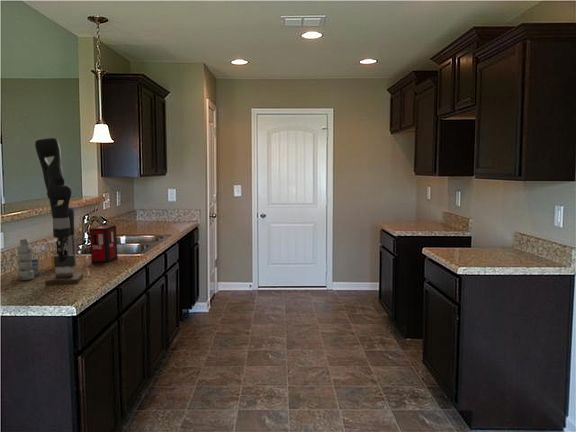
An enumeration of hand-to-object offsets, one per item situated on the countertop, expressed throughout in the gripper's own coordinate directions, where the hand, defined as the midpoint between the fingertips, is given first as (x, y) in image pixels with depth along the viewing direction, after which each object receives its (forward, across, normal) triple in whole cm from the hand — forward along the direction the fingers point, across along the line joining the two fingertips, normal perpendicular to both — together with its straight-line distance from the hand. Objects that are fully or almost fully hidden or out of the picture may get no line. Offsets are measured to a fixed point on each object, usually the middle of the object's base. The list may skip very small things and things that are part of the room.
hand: (63, 260), depth 239 cm
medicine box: (+10, -16, -20) cm, 28 cm away
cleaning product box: (+10, -50, +12) cm, 53 cm away
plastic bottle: (+10, -8, -19) cm, 23 cm away
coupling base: (+10, 0, 0) cm, 10 cm away
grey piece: (+8, 0, 0) cm, 8 cm away
